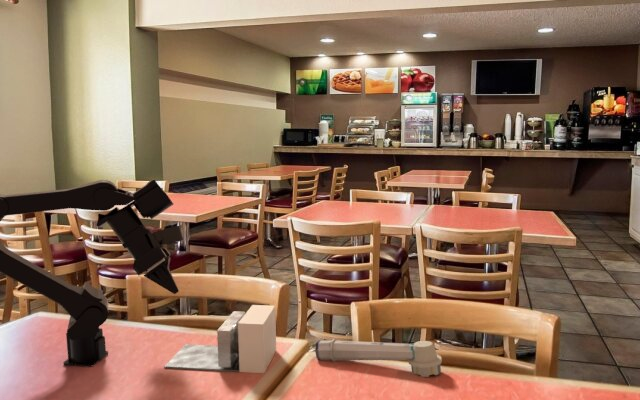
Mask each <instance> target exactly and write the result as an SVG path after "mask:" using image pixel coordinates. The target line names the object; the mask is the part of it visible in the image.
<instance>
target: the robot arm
mask: <svg viewBox="0 0 640 400" xmlns="http://www.w3.org/2000/svg"><path fill="white" fill-rule="evenodd" d="M118 206H124V207H122V208H119V207H118ZM172 206H174V203H173V200H172V199H171V198H170V197H169V196H168V194H167V193H166V191H165V190H164V189H162V187H161V186H160V185H159V184H158V182H157V181H156V180H155V179H154V178H152V179H150V181H148V182H146V183H145V185H143V186H142V187H140V188H139V189H137V190H136V191H134V192H131V191H129V190H124V189H122V188H118V186H116V184H115V183H114V182H113V181H111V180H108V179H98V180H95V181H91V182H87V183H84V184H81V185H78V186H74V187H70V188H66V189H65V188H64V189H56V190H55V189H53V190H45V191H36V192H26V193H25V192H24V193H15V194H0V222H1V221H2V220H3V219H4V218H5V217H6V216H13V215H21V214H22V215H23V214H31V213H39V212H49V211H57V210H66V209H67V210H68V209H76V210H85V211H101V212H103V211H108V212H107V213H105V214H103V213H97V217H98V218H97V221H96V224H95V226H97V227H98V228H103V227H104V226H106V225H108V226H109V227H110V229H111V230H112V231H113V233H114V234H115V236H116V237H117V238H118V240H119V241H120V242H121V245H122V247H123V248H124V249H126V250H127V252H128V254H129V255H130V256H131V257H132V259H133V267H132V269H133V270H134V271H135V273H136V274H137V276H139V277H140V276H141V275H143V277H144V278H147V279H148V280H150V281H151V282H153V283H155V284H157V285H159V286H160V287H162V288H163V289H165V290H167V291H169V292H170V293H172V295H177V294H178V293H179V291H180V289H179V288H178V285H177V283H176V281H175V279H174V276H173V274H172V273H171V270H170V264H171V263H170V262H171V257H170V256H171V253H170V252H169V250H168V249H167V248H166V247H164V246H163V245H167V244H172V243H175V242H182V241H185V240H184V236H183V232H182V228H181V225H176V226H174V225H173V224H168V225H164V227H163V229H162V230H161V229H160V230H158V231H154V232H153V231H152V229H150V228H147V226H146V225H145V223H144V222H143V221H142V219H141V217H142V218H143V219H145V218H146V219H151V220H153V219H154V218H156V217H157V216H159V215H161V214H162V213H163V212H164V211H167V210H168V209H169V208H170V207H172ZM133 207H135V209H136V210H137V212H138V213H139V214H140V216H141V217H139V215H138V213H136V211H135V209H133ZM109 210H110V211H109ZM144 272H146V273H145V274H143V273H144ZM0 273H1V274H3V275H4V276H7V277H8V278H11V279H12V280H14V281H16V282H18V283H19V284H21V285H23V286H25V287H27V288H29V289H31V290H33V291H34V292H36V293H38V294H40V295H42V296H43V297H46V298H47V299H49V300H51V301H53V302H55V303H56V304H58V305H60V306H61V307H62V308H63V309H64V310H65V312H66V313H67V314H68V315H69V319H68V320H69V321H68V324H67V330H66V332H65V333H66V334H65V335H66V349H67V350H66V351H67V359H65V361H63V362H62V363H63V365H64V366H79V367H93V366H95V365H96V364H97V363H98V362H100V361H101V360H102V359H104V358H105V357H106V356H107V355H108V354H109V351H108V350H106V349H107V347H106V337H105V335H103V328H102V327H101V328H100V326H102V325H103V324H104V323H105V322H106V321H107V319H108V317H109V302H108V298H107V297H106V295H105V294H104V290H103V289H98V288H95V287H94V286H93V285H92V284H91V283H89V282H88V281H84V283H83V286H79V285H74V284H71V283H69V282H67V281H66V280H64V279H63V278H60V277H58V276H56V275H55V274H53V273H51V272H49V271H47V270H46V269H45V268H42V267H41V266H38V264H37V265H36V264H35V263H34V262H32V261H29V260H28V259H26V258H24V257H22V256H21V255H20V254H17V253H15V252H14V251H12V250H10V249H9V248H7V247H6V246H5V245H4V244H3V242H2V241H1V240H0Z"/></svg>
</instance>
